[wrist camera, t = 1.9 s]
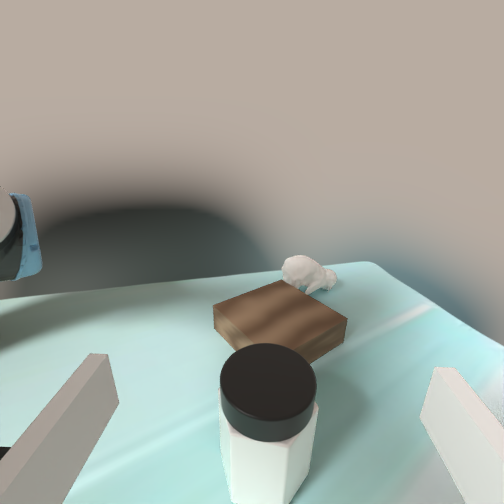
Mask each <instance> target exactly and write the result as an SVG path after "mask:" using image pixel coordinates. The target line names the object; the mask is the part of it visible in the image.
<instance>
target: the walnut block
mask: <svg viewBox="0 0 504 504" xmlns="http://www.w3.org/2000/svg"><path fill="white" fill-rule="evenodd" d="M213 315H214V329H215V330H216V331H217V332H218V333H219V334H220V335H221V336H222V337H223V338H224V339H225V340H226V341H227V342H228V343H229V344H230V345H231V346H232V347H233V348H234V350H235V351H238V350H239V349H241V348H243V347H246V346H248V345H252V344H257V343H273V344H279V345H282V346H285V347H288V348H290V349H292V350H294V351H296V352H297V353H299V354H300V355H301V356H303V357H304V358H305V359H306V360H307V362H308V363H309V364H310V363H312V362H313V361H315V360H317V359H318V358H320V357H321V356H323V355H324V354H326V353H327V352H329V351H331V350H332V349H334V348H335V347H337V346H338V345H340V344H341V343H343V341H344V336H345V330H346V325H347V319H348V318H346V317H344V316H343V315H341V314H339V313H338V312H336V311H334V310H332V309H331V308H329V307H327V306H326V305H324V304H322V303H321V302H319V301H317V300H316V299H314V298H312V297H310V296H309V295H307V294H305V293H304V292H302V291H300V290H299V289H297V288H295V287H294V286H292V285H290V284H288V283H287V282H285V281H283V280H279V281H276V282H274V283H271V284H268V285H266V286H263V287H260V288H258V289H255V290H252V291H250V292H247V293H244V294H242V295H239V296H236V297H234V298H231V299H228V300H226V301H223V302H220V303H218V304H215V305H213Z"/></svg>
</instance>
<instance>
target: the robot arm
mask: <svg viewBox="0 0 504 504" xmlns="http://www.w3.org/2000/svg"><path fill="white" fill-rule="evenodd" d="M41 268H42V259H41V253H40V248H39V243H38V237H37V231H36V225H35V221H34V214H33V209H32V204H31V200H30V198H29V197H28V196H27V195H24V194H16V193H11V194H8V193H7V192H6V191H5V190H4V188H2V187H1V186H0V282H3V281H8V280H11V281H14V280H18V279H19V278H21V277H26V276H30V275H34V274H36V273H38V272H39V271H40V270H41ZM118 404H119V399H118V395H117V391H116V387H115V383H114V378H113V374H112V370H111V366H110V362H109V357H108V354H89V355H88V356H87V358H86V359H85V360H84V361H83V362H82V363H81V365H80V366H79V367H78V368H77V369H76V371H75V372H74V373H73V374H72V375H71V377H70V378H69V379H68V380H67V381H66V383H65V384H64V385H63V386H62V387H61V389H60V390H59V391H58V392H57V393H56V395H55V396H54V397H53V398H52V399H51V401H50V402H49V403H48V404H47V405H46V407H45V408H44V409H43V410H42V411H41V413H40V414H39V415H38V416H37V417H36V418H35V420H34V421H33V422H32V423H31V424H30V426H29V427H28V428H27V429H26V430H25V432H24V433H23V434H22V435H21V436H20V438H19V439H18V440H17V441H16V442H15V444H14V445H13V446H12V447H0V504H62V503H63V501H64V500H65V498H66V496H67V494H68V493H69V491H70V489H71V487H72V485H73V484H74V482H75V480H76V478H77V477H78V475H79V473H80V471H81V470H82V468H83V466H84V464H85V463H86V461H87V459H88V457H89V456H90V454H91V452H92V450H93V448H94V447H95V445H96V443H97V441H98V440H99V438H100V436H101V434H102V433H103V431H104V429H105V427H106V426H107V424H108V422H109V420H110V419H111V417H112V415H113V413H114V411H115V410H116V408H117V406H118ZM419 418H420V420H421V421H422V423H423V425H424V427H425V429H426V431H427V432H428V434H429V436H430V438H431V440H432V442H433V444H434V445H435V447H436V449H437V451H438V453H439V455H440V457H441V458H442V460H443V462H444V464H445V466H446V468H447V470H448V471H449V473H450V475H451V477H452V479H453V481H454V483H455V484H456V486H457V488H458V490H459V492H460V494H461V495H462V497H463V499H464V501H465V503H466V504H504V427H503V426H502V425H501V424H500V423H499V421H498V420H497V419H496V418H495V416H494V415H493V414H492V413H491V411H490V410H489V409H488V408H487V407H486V405H485V404H484V403H483V402H482V400H481V399H480V398H479V397H478V395H477V394H476V393H475V392H474V391H473V389H472V388H471V387H470V386H469V384H468V383H467V382H466V381H465V379H464V378H463V377H462V376H461V375H460V373H459V372H458V371H457V370H456V368H448V367H434V371H433V374H432V377H431V381H430V384H429V387H428V391H427V394H426V397H425V400H424V404H423V407H422V410H421V414H420V417H419Z"/></svg>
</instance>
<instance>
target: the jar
mask: <svg viewBox="0 0 504 504" xmlns="http://www.w3.org/2000/svg"><path fill="white" fill-rule="evenodd" d="M316 389H317V382H316V377H315V373H314V371H313V369H312V367H311V366H310V364H309V363H308V362H307V360H306V359H305V358H304V357H303V356H301V355H300V354H299V353H297V352H296V351H294V350H292V349H290V348H288V347H285V346H282V345H279V344H273V343H257V344H252V345H248V346H246V347H243V348H241V349H239V350H238V351H236V352H235V353H233V354H232V355H231V356H230V357H229V358H228V359H227V361H226V362H225V364H224V365H223V368H222V370H221V374H220V387H219V389H218V402H219V425H220V448H221V457H222V461H223V466H224V470H225V475H226V480H227V484H228V489H229V493H230V498H231V501H232V502H233V503H236V504H289V503H290V502H291V500H292V498H293V497H294V495H295V494H296V492H297V491H298V489H299V487H300V486H301V484H302V483H303V481H304V480H305V478H306V477H307V475H308V473H309V467H310V461H311V455H312V448H313V442H314V436H315V429H316V423H317V417H318V410H319V407H318V405H317V404H316V402H315V396H316Z"/></svg>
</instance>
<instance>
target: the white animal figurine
mask: <svg viewBox="0 0 504 504" xmlns="http://www.w3.org/2000/svg"><path fill="white" fill-rule="evenodd" d="M282 272H283V280H284V281H285V282H287V283H288V284H290V285H292V286H294V287H295V288H297V289H298V288H299V287H300V286H302V285H304V286H307V287H308V288H307V289H306V291H305V294H307V295H309V294H310V293H312V292H314V291H315V290H317V289H319V288H321V287H322V289H327V290H328V292H329V291H330V289H331V288H332V286H333V285H334V284H335V283H336V280H337V276H336V274H335V272H334V271H332V270H330V269H324V268H323V267H322V266H321V265H319V264H318V263H317V262H316V261H315V260H313V259H311V258H309V257H307V256H304V255H296V256H293V257H290V258H287V259H286V261H285V262H284V265H283V266H282Z"/></svg>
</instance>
